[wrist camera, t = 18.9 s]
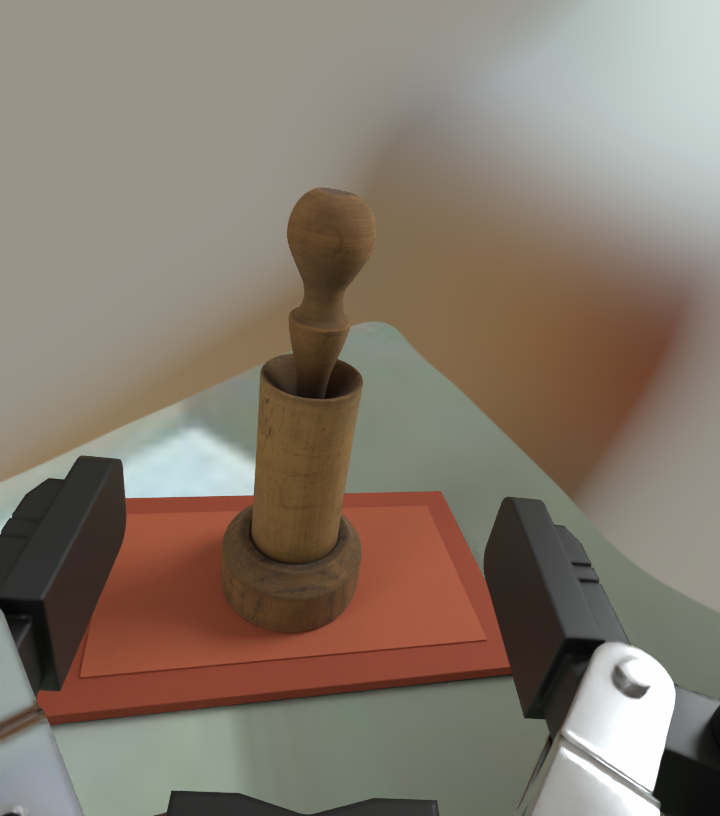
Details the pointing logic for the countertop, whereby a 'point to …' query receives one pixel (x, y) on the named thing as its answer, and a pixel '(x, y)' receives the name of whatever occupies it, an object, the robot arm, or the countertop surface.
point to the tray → (269, 650)
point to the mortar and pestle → (305, 438)
